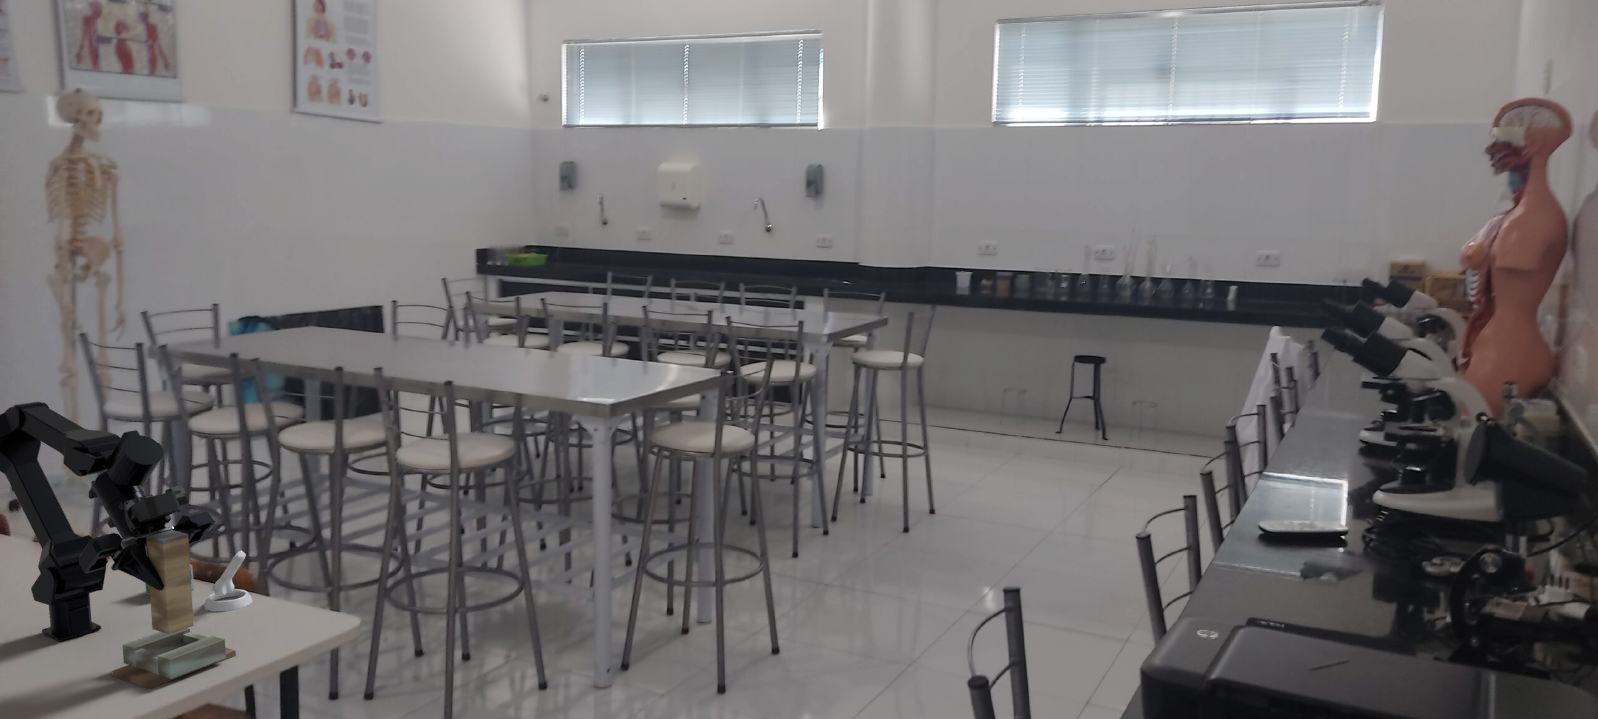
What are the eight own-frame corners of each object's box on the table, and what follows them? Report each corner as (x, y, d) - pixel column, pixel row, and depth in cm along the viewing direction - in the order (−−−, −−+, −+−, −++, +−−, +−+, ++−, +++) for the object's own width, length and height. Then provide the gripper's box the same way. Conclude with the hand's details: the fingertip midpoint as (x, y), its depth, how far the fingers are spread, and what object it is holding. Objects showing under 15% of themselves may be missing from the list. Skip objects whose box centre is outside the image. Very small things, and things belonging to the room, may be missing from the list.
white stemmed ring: (264, 584, 195) (226, 564, 193) (231, 633, 198) (193, 614, 196) (279, 561, 202) (242, 542, 200) (246, 609, 205) (210, 591, 203)
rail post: (152, 629, 172) (146, 536, 170) (177, 620, 176) (171, 529, 174) (168, 634, 170) (162, 540, 168) (193, 625, 174) (188, 533, 172)
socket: (107, 674, 170) (105, 650, 170) (194, 642, 183) (192, 620, 182) (154, 690, 165) (153, 665, 164) (241, 656, 177) (239, 633, 177)
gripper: (84, 486, 163) (136, 572, 160) (204, 460, 179) (253, 538, 176) (56, 530, 168) (106, 615, 164) (175, 501, 184) (223, 578, 181)
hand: (175, 584), depth 171 cm, fingers closed on rail post, 4 cm apart
